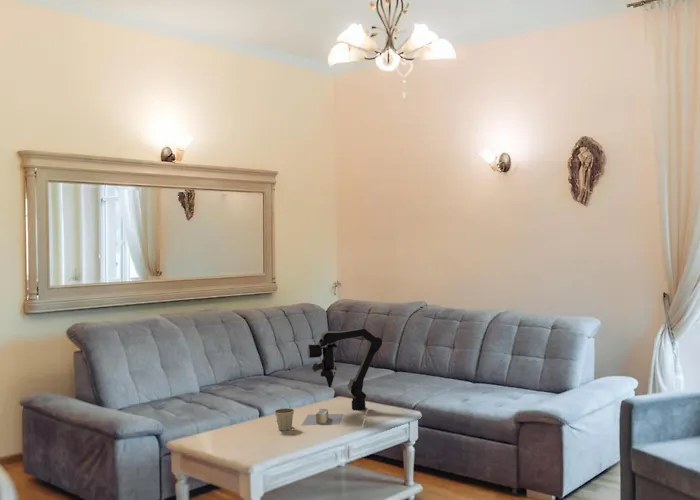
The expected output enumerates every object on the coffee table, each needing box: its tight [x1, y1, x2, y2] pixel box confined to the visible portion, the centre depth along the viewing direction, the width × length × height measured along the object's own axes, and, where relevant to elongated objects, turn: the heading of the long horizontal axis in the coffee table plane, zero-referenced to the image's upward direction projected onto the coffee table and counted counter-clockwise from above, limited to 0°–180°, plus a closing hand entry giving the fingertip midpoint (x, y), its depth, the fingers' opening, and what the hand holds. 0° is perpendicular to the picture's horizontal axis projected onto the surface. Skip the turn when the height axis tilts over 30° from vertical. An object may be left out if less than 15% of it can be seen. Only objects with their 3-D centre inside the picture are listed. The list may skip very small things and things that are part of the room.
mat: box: [301, 413, 344, 426], centre depth 339 cm, size 18×20×1 cm
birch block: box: [315, 408, 329, 423], centre depth 336 cm, size 4×4×10 cm
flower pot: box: [274, 407, 295, 431], centre depth 326 cm, size 9×9×9 cm
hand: (329, 387), depth 353 cm, fingers closed
